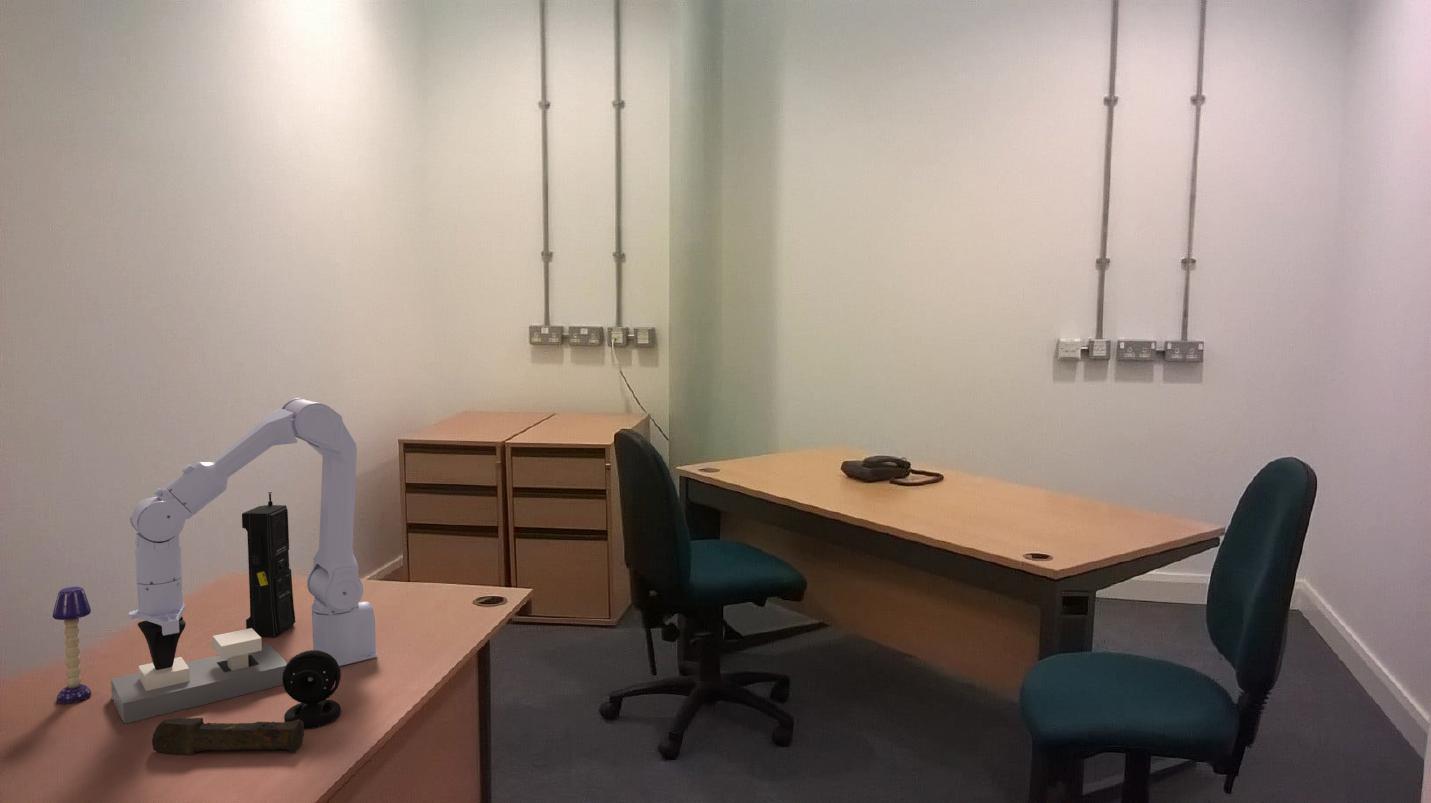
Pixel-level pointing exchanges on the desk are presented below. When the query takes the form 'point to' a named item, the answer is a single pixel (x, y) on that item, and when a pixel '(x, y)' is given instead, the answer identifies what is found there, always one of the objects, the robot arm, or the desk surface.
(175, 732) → the hand tool
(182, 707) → the panel
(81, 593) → the toy lamp
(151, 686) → the cap
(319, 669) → the webcam
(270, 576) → the portable radio
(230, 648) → the cap
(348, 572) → the robot arm
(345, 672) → the desk surface
